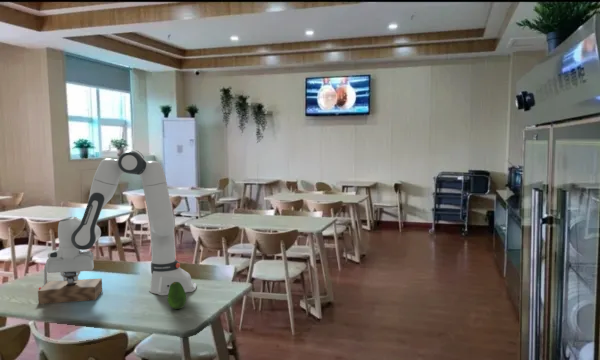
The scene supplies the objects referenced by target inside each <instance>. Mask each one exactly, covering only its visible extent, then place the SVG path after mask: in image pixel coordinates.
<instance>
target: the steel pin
mask: <svg viewBox="0 0 600 360" xmlns="http://www.w3.org/2000/svg"><path fill="white" fill-rule="evenodd" d="M64 274H65V277H66V278H67V286H75V283H74V277H75V276H76V275H77V274H76V271H75V272H65V273H64Z"/></svg>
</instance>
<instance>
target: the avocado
mask: <svg viewBox="0 0 600 360" xmlns="http://www.w3.org/2000/svg"><path fill="white" fill-rule="evenodd" d="M186 301H187V292H186V293H185V291H184V289H183V287H182V285H181V284H180V283H179V282H173V283H172V284H171V285H170V288H169V292H168V295H167V303H168V305H169V306H170V307H171V309H173V310H174V309H175V310H179V309H182V308H183V307H184V306H185V305H186V303H187V302H186Z"/></svg>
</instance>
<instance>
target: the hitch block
mask: <svg viewBox="0 0 600 360" xmlns="http://www.w3.org/2000/svg"><path fill="white" fill-rule="evenodd" d="M74 283H75V286H67V281H64V280H51V281H47V283H46V284H45V285H44V284H43V285H42V288H41V289H40V290H39V289H38V290H37V297H38V305H43V304H57V303H71V302H72V303H73V302H85V301H87V302H88V301H89V302H90V301H96V299H97V298H98V297H99V296H100V294H101V293H102V291H103V279H102V278H87V279H85V278H84V279H78V280H77V281H74Z"/></svg>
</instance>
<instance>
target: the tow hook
mask: <svg viewBox="0 0 600 360" xmlns="http://www.w3.org/2000/svg"><path fill="white" fill-rule="evenodd" d="M43 278H44V279H43V286H44V285H45V284H46V283H48V272H47V271H46V264H44V269H43ZM43 286H42V287H43ZM42 287H41V286H40V287H39V288H38V290H40V289H41V288H42Z"/></svg>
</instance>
